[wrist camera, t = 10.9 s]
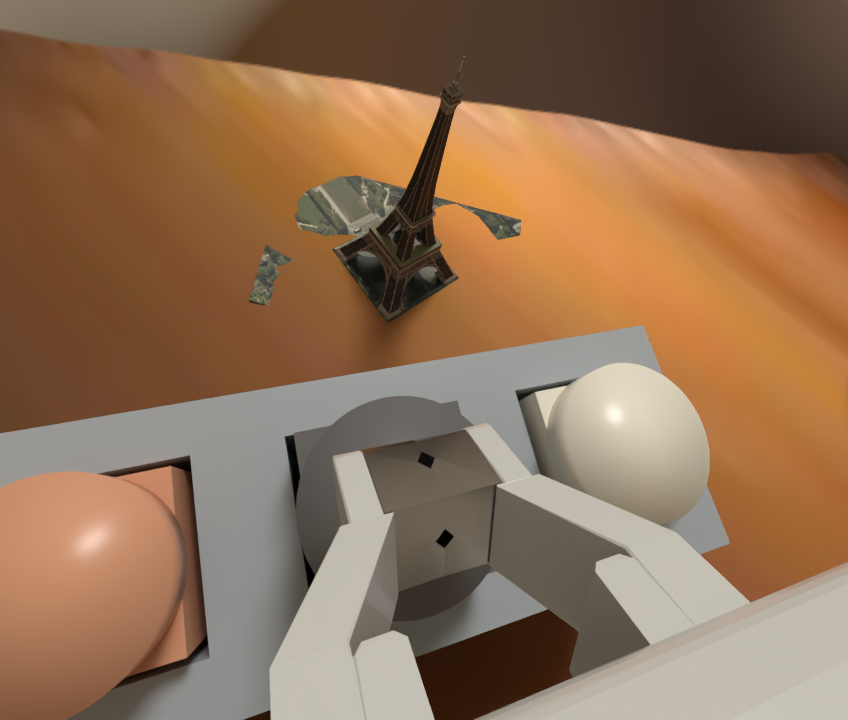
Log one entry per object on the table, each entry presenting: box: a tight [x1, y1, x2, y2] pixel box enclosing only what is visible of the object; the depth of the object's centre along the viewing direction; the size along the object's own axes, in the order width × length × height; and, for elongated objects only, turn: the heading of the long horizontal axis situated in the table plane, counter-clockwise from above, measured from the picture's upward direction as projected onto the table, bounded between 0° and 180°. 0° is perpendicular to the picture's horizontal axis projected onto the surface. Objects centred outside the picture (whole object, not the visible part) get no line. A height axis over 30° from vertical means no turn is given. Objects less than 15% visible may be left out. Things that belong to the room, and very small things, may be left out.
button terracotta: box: [0, 466, 207, 720], centre depth 13 cm, size 5×5×8 cm
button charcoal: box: [294, 396, 496, 622], centre depth 14 cm, size 5×5×8 cm
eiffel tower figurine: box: [249, 56, 521, 323], centre depth 21 cm, size 15×10×13 cm
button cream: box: [518, 363, 710, 525], centre depth 17 cm, size 5×5×8 cm
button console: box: [0, 325, 730, 720], centre depth 17 cm, size 22×8×9 cm, turn 103°
